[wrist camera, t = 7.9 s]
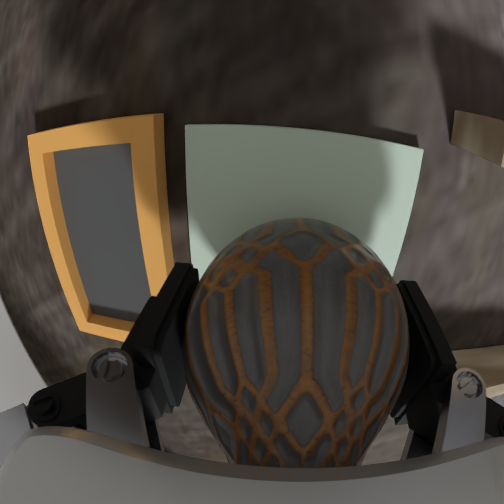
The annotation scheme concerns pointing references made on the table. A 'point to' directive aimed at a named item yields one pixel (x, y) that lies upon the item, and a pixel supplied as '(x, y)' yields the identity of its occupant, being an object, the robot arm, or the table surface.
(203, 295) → the vase
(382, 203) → the pad
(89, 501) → the robot arm
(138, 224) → the orange picture frame
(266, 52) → the table surface
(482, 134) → the open-sided enclosure
